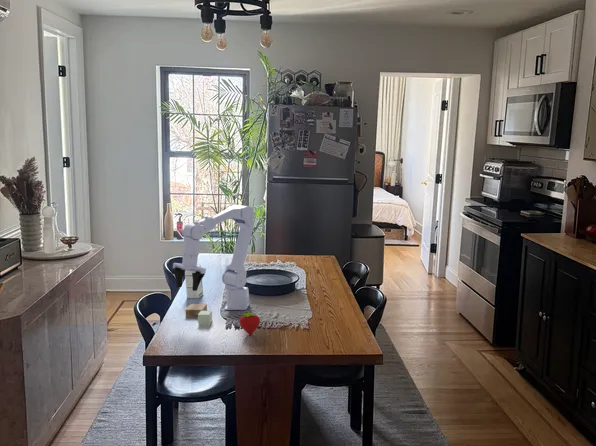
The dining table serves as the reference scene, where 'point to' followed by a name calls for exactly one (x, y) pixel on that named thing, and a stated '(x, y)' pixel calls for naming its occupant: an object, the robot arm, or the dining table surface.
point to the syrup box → (190, 284)
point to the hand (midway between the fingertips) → (186, 288)
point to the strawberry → (249, 322)
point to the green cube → (205, 317)
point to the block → (195, 309)
